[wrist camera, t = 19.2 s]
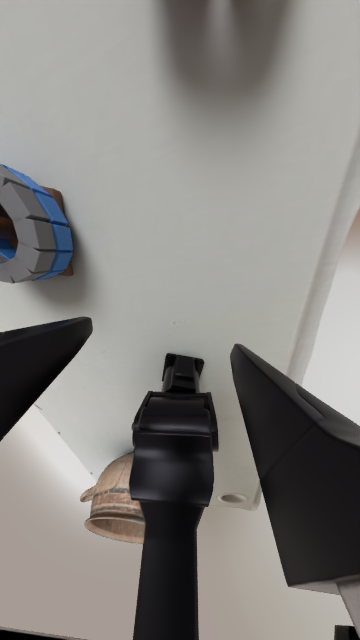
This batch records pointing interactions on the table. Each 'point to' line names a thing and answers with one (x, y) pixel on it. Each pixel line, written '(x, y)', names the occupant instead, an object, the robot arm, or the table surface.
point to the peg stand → (4, 228)
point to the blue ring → (56, 219)
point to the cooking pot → (115, 504)
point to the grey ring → (25, 231)
